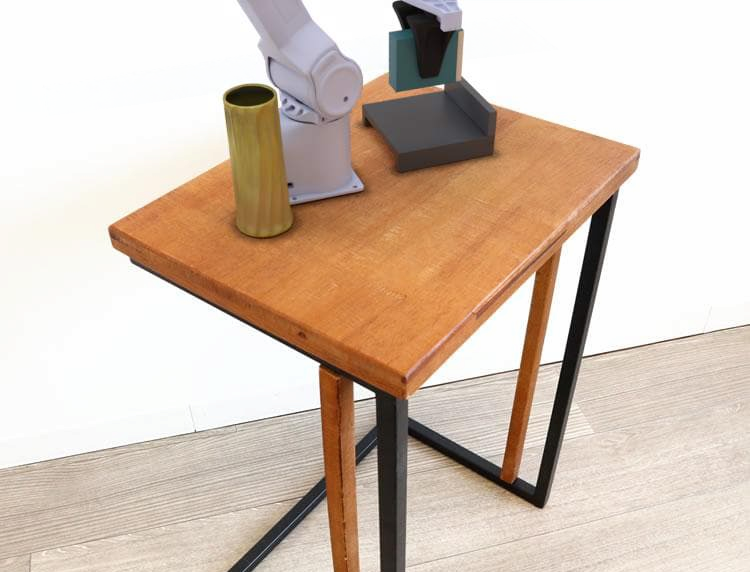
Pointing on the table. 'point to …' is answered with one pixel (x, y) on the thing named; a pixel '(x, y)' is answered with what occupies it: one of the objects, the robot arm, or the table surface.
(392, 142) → the grey corner tray
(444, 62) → the book
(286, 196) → the vase
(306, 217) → the table surface
